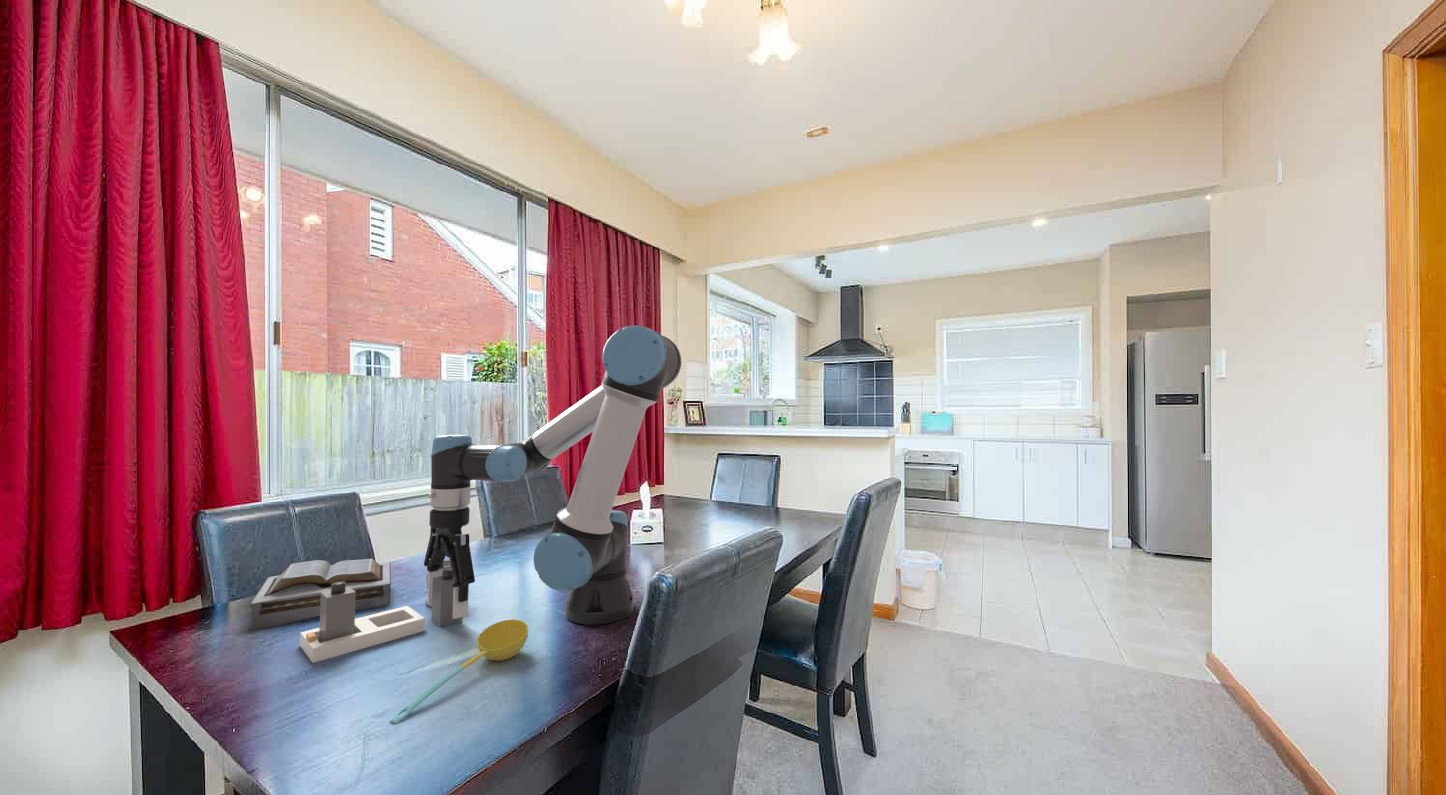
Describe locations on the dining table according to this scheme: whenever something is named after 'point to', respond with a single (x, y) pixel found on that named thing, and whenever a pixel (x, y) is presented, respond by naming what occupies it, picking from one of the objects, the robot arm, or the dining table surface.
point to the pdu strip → (364, 633)
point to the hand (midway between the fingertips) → (446, 608)
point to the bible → (318, 590)
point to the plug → (443, 599)
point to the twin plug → (337, 612)
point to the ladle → (481, 655)
